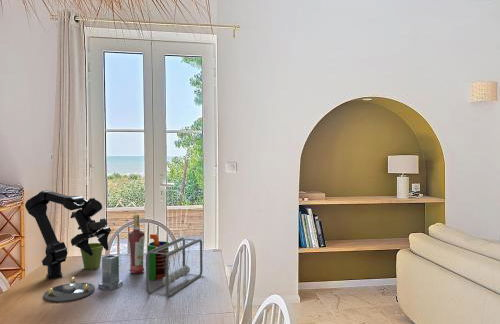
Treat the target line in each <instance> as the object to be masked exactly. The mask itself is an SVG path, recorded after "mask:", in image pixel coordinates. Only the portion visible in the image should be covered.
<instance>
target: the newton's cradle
mask: <svg viewBox="0 0 500 324" xmlns="http://www.w3.org/2000/svg"><path fill="white" fill-rule="evenodd" d="M186 240H187V242H186ZM188 241H189V242H188ZM197 243H199V274H192V273H190V272H191V269H190V268H191V267H189V266H188V265H187V264H188V262H186V260H188V259H189V258H188V257H189V256H187V257H186V249H188V248H190V247H191V246H193V245H195V244H197ZM178 244H182V245H179V246H178ZM172 246H175V247H176V248H173V247H172ZM167 247H169V248H170V249H171V250H169V252H167V253H166V254H165V253H156V252H158V251H160V250H161V251H162V249H165V248H166V249H167ZM166 251H168V250H166ZM189 251H190V249H188V250H187V253H189ZM180 252H182V262H180V257H181V254H179V253H180ZM151 253H156V254H165V255H167V256H166V273H165V275H166V277H164V278H163V279H161V280H162V281H161V282H162V283H161V284H159V285H158V286H156V287H154V288H153V289H151V290H150V280H149V255H150V254H151ZM176 254H178V256H177V257H178V262H177V264H178V266H177V267H176V268H175V266H176V264H175V260H176V258H175V256H176ZM162 257H163V255H162ZM171 258H173V267H172V268H174V270H175V271H174V270H172V271H171V269H170V267H171V265H170V263H171V261H170V259H171ZM186 258H187V259H186ZM163 263H164V261H163ZM180 263H182V264H181V265H182V266H181V265H180ZM179 266H181V267H179ZM203 268H204V267H203V240H202V239H201V238H199V239H193V238H184V237H179V238H177V239H175V240H173V241H170V242H169V243H167V244H165V245H163V246H160V247H158V248H155V249H153V250H151V251H149V252H148V251H147V252H146V255H145V291H146V293H147V294H148V295H150V294H156V295H163V296H166V297H168V298H171V297H173V296H174V295H175V294H176V293H178V292H180V291H181V290H182V289H184V288H186V287H187V286H189V285H190V284H192V283H193V282H194V281H196V280H198V279H199V278H201V277H202V276H203ZM164 269H165V267H164ZM169 271H170V272H169ZM185 275H188V276H195V277H193V278H191V279H190V280H188V281H187V282H185V283H184V284H182V285H181V286H179V287H178V288H177V289H175V290H173V291H171V292H169V290H170V287H169V286H170V284H172V283H174V282H175V281H176V280H180V279H181V278H182V277H184V276H185ZM164 286H165V293H160V292H156V291H158V290H159V289H161V288H163V287H164ZM170 296H171V297H170Z"/></svg>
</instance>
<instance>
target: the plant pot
mask: <svg viewBox="0 0 500 324" xmlns="http://www.w3.org/2000/svg"><path fill="white" fill-rule="evenodd" d="M88 243H89V246H90V248H91V250H92V253H93V255H92V256H90V255H89V254H87V253H86V252H85V251H83V250H82V249H80V248H79V249H80V253H81V256H82V263H83V267H84V270H90V271H91V270H96V269H98V268H100V266H101V262H102V261H101V260H102V255H103V254H102V252H103V249H104V247H103V246H102V245H101V243H100V242H88Z"/></svg>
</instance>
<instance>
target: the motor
mask: <svg viewBox="0 0 500 324" xmlns="http://www.w3.org/2000/svg"><path fill="white" fill-rule="evenodd" d="M149 239H151V240H153V241H151V242H148V243H147V253H148V252H149V251H151V250H153V249H155V248H158V247H160V246H163V245H165V244H167V243H170V242H169V241H167V240H159V236H158V234H157V233H150V234H149ZM169 249H170V246H169V247H167V249H166V248H165V249H162V251H161V250H160V251H158V252H156V253H165V254H166V253H167V252H170V250H169ZM166 250H168V251H166ZM156 253H151V254H150V255H149V281H154V282H155V281H156V280H162V279H163V278H164V277H166V275H165V273H166V256H167V255H165V254H156ZM162 255H163V257H162ZM163 261H164V263H163ZM164 267H165V269H164Z"/></svg>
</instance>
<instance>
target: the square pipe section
mask: <svg viewBox="0 0 500 324" xmlns="http://www.w3.org/2000/svg"><path fill="white" fill-rule="evenodd" d="M119 257H120V255H115V254H107V255H105V256H101V260H102V261H101V267H102V268H101V275H102V276H101V277H102V278H101V282H100V283H98V288H99V289H101V290H102V291H106V290H110V291H112V290H115V289H120V288H121V286H123V285H124V284H123V283H124V281H123V280H120V266H119V265H120V258H119Z"/></svg>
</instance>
